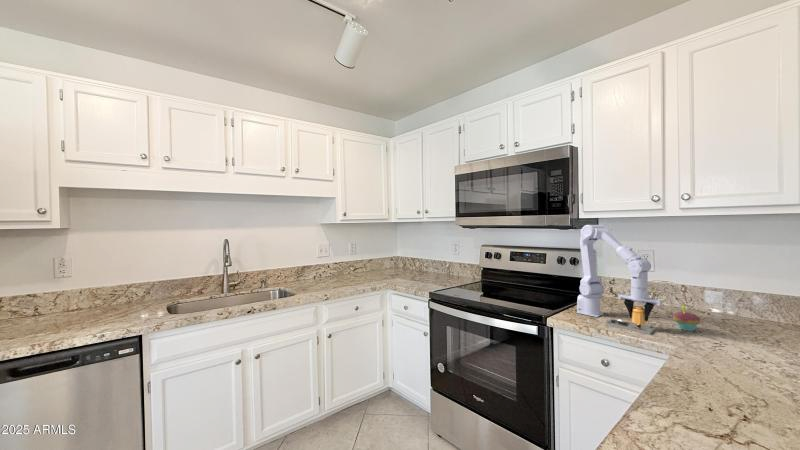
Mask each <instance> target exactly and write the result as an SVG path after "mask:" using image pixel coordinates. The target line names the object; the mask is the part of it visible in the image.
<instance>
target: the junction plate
mask: <svg viewBox="0 0 800 450" xmlns="http://www.w3.org/2000/svg"><path fill="white" fill-rule="evenodd" d="M605 326H609V327H614V328H618V329H623V330H626V331H631V332H636V333H640V334H645V335H652V334H653V333H655V331H656V330H657V327H656V326H653V325H648V324H645V325H640V324H635V323H633V322H632V321H628V320H622V319H619V318H614V317H612V318H611V319H609V320H607V321H605Z"/></svg>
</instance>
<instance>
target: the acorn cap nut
mask: <svg viewBox="0 0 800 450" xmlns="http://www.w3.org/2000/svg"><path fill="white" fill-rule="evenodd" d="M631 322H633V323H635V324H640V325H647V321H645V308H644V306H638V305H637V306H635V305H634V306H633V308H632V318H631Z"/></svg>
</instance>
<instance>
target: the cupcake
mask: <svg viewBox="0 0 800 450" xmlns="http://www.w3.org/2000/svg"><path fill="white" fill-rule="evenodd" d="M672 316H673V320H674V321H676V324H677V326H678V329H679V328H680V330H681V329H683V330H682V331H685V330H688V331H687V332H694V331H695V329H696V328H697V326H698V325H699V324H701V318H700V317H699V316H697V314H693V313H691V312H686V306H685V303H684V302H682V311H679V312H676V313H675V314H673V315H672Z"/></svg>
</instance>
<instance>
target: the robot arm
mask: <svg viewBox="0 0 800 450" xmlns="http://www.w3.org/2000/svg"><path fill="white" fill-rule="evenodd" d="M579 238H580V239H579V247H580V255H581V262H582V263H581V265H582V271H583V277H582V278H581V280H580V281H579V282H580V285H579V287H578V288H579V292H580V294H578V296H577V301H576V314H580V315H585V316H590V317H595V318H599V317H600V316H602V315H604V312H601V296H602V294H603V293H604V291H605V288H604V285H603V283H602V279H601V278H600V277H598V275H597V266H596V265H597V264H596V259H595V251H594V243H596V242H598V240H601V241H604V242H605V243H607V244H608V245H609V246H610V247H611V248H612V249H614V251H616V252H615V254H616V256H617V258H619V259H621V260H622V262H624V263H625V264H626V265H627V269H628V271H629V274H630V295H629V294H618V300H624V301H623V303H624V305H625V307H626V309H627V312H628V315H629V318H630V319H632V308H633V307H634V306H635V305H634V303H635V302H636V303H642V304H644V305H643V308H644V309H645V321H646V322H648V321H649V318H650V314H651V312H652V310H653V309H654V307H655V306H657V307H659V306H660V307H661V306H662V300H660V299H655V298H650V297H648V291H649V290H648V289H649V288H648V287H649V286H648V285H649V284H648V281H649V280H648V278H649V277H648V276H649V275H648V274H649V273H648V272H649V271H650V270H651V268H652V264H651V262H650V261H649V259H646V258H643V257H642V256H640V255H638V254H637V253H636V252H635V251H634V250H633V248H632V247H631V246H628V245H623V244H622V243H621V242H620V241H619V240H618V239H617V238H616V237H615V236H614V235H613V234H612V233H611V232H610V230H609V228H607V227H606V226H605V225H604V224H586V225H583V226H582V228H581V229H580V237H579Z"/></svg>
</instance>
